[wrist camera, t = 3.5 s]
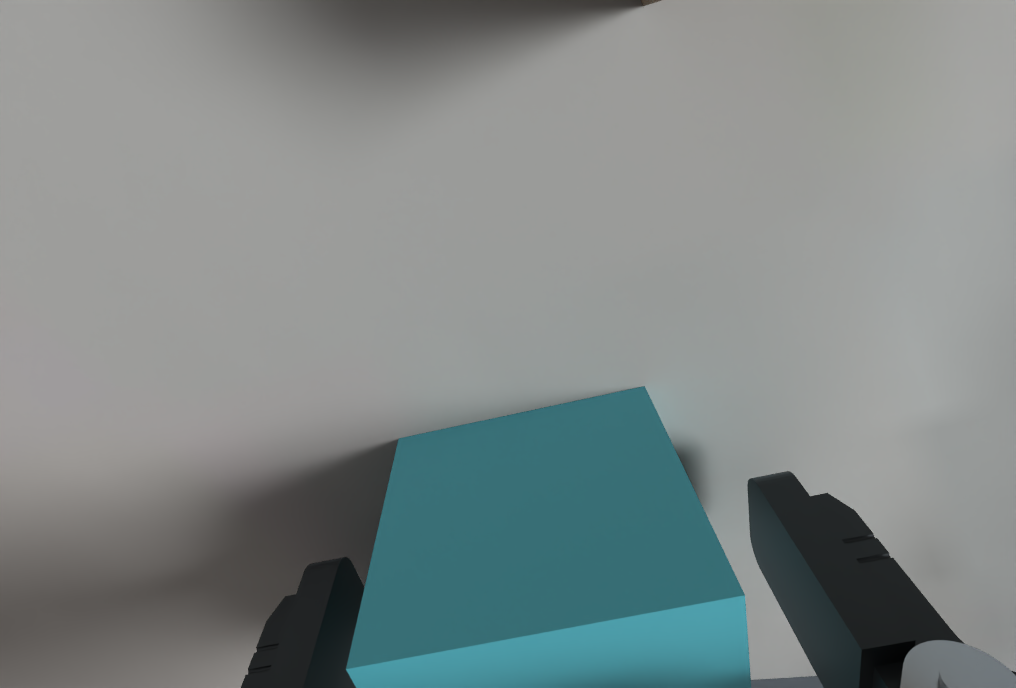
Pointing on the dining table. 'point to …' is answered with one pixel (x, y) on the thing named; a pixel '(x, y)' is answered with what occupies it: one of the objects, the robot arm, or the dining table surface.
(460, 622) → the teal block
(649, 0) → the walnut block
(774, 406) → the dining table surface
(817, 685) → the slate gray block
